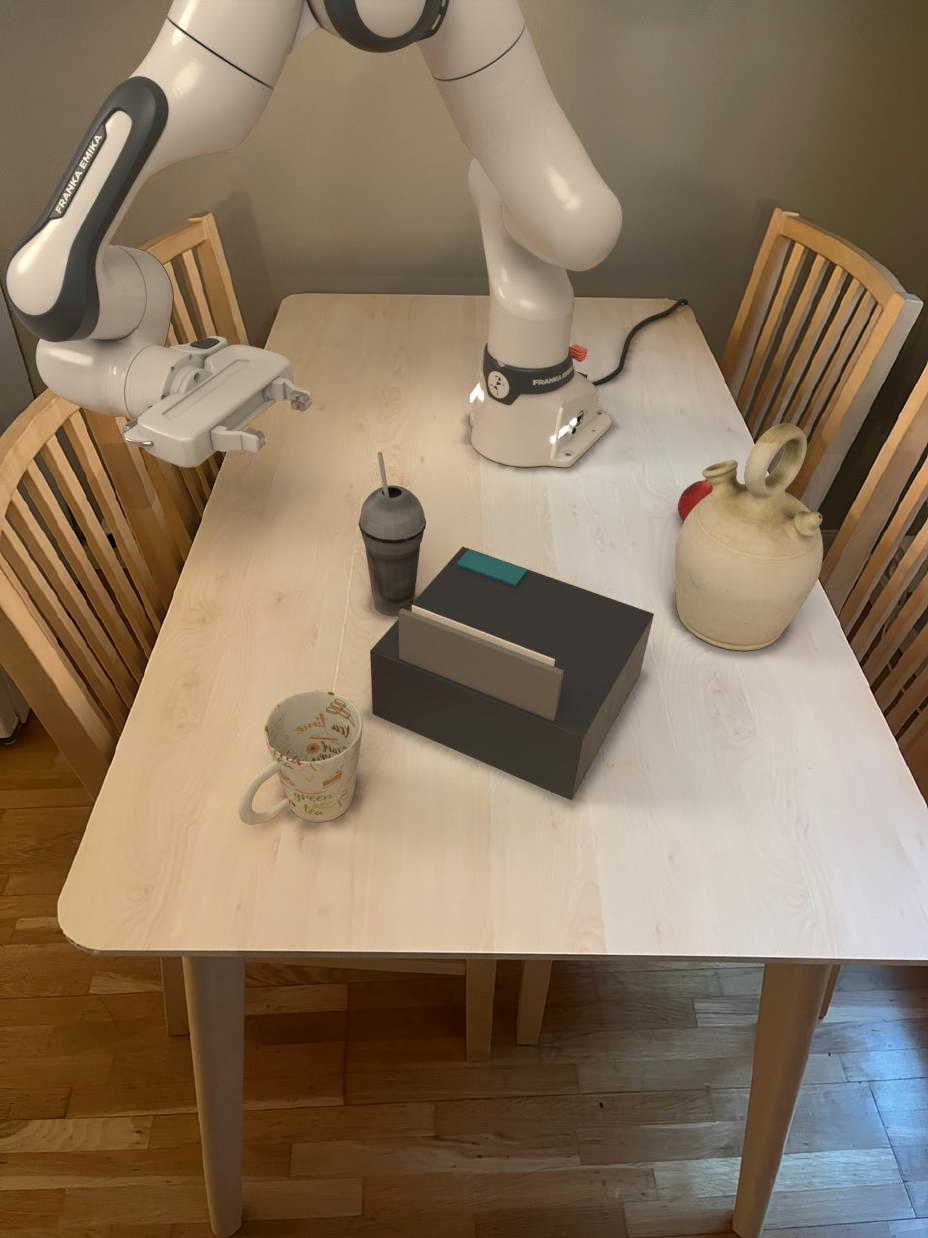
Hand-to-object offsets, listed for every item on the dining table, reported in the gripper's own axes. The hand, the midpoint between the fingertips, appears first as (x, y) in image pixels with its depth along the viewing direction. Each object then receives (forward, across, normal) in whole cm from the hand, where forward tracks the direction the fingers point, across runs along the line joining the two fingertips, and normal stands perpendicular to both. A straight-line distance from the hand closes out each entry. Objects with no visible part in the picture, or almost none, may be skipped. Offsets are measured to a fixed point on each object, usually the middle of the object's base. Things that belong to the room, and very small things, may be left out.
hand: (285, 421), depth 96 cm
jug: (+48, +15, +20) cm, 55 cm away
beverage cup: (+12, 0, +21) cm, 24 cm away
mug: (+18, -29, +21) cm, 40 cm away
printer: (+30, -8, +21) cm, 37 cm away
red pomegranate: (+41, +30, +20) cm, 55 cm away
